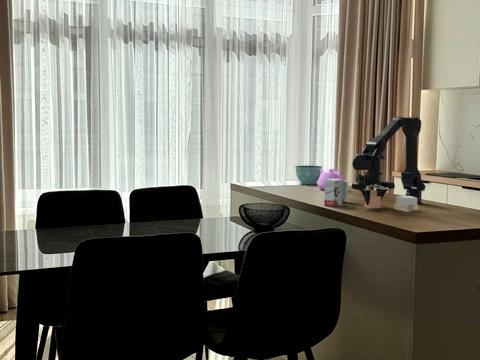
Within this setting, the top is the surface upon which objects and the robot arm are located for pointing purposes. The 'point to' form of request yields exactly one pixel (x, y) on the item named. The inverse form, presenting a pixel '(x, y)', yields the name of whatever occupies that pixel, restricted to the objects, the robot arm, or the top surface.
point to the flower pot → (308, 174)
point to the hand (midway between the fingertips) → (372, 204)
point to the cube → (374, 202)
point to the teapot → (327, 177)
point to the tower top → (406, 200)
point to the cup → (344, 190)
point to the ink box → (333, 192)
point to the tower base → (405, 207)
